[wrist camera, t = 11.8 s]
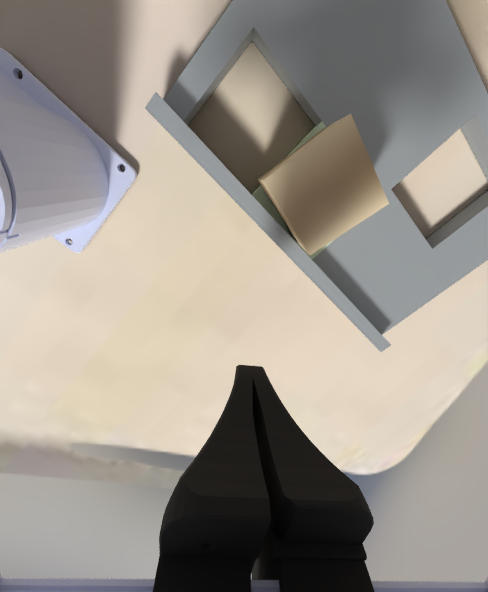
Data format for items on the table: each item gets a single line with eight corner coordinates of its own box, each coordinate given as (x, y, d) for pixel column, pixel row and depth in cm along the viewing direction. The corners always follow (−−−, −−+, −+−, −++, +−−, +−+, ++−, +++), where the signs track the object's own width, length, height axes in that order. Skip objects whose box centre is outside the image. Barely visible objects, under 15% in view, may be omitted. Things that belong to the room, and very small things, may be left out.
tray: (159, 119, 16) (144, 108, 14) (348, -145, 12) (380, -238, 9) (364, 332, 24) (380, 352, 21) (523, 216, 20) (569, 222, 17)
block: (257, 179, 17) (263, 180, 13) (323, 128, 16) (350, 113, 12) (295, 240, 19) (309, 255, 15) (357, 198, 17) (389, 203, 14)
